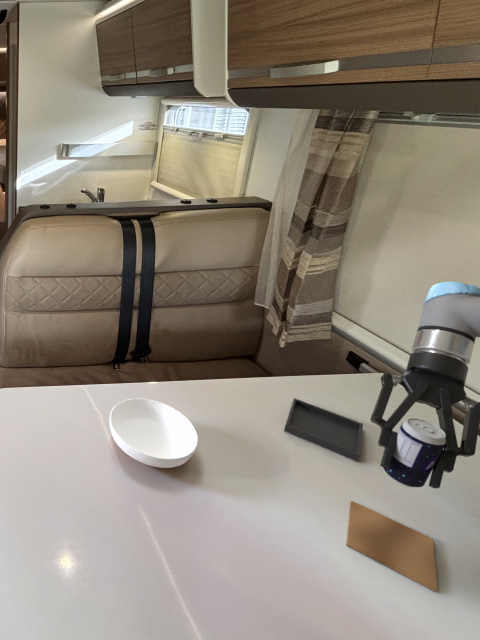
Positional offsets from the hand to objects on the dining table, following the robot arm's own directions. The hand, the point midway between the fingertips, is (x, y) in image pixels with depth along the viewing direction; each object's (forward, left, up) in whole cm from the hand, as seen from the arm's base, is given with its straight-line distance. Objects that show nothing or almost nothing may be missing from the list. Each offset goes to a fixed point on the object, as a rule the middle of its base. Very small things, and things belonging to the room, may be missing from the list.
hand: (408, 476), depth 76 cm
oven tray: (+11, -27, -16) cm, 33 cm away
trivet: (-2, 0, -16) cm, 16 cm away
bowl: (+41, +7, -16) cm, 45 cm away
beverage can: (0, -4, -4) cm, 5 cm away
